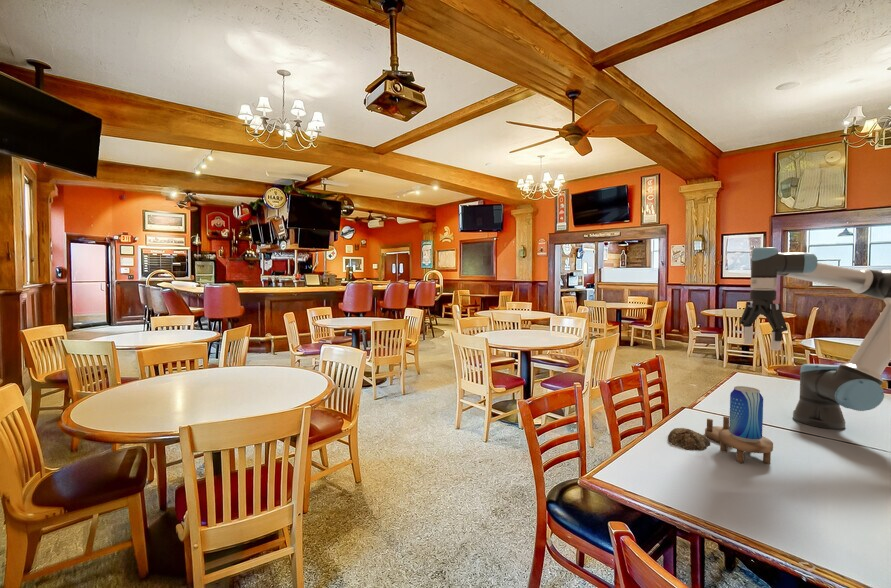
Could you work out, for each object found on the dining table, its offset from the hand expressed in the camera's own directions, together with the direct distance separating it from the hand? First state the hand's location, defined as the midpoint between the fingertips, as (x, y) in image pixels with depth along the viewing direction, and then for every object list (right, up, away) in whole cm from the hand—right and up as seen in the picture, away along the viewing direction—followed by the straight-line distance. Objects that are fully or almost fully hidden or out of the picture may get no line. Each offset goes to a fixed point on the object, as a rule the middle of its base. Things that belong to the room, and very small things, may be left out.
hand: (761, 346), depth 147 cm
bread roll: (-33, -33, -9) cm, 47 cm away
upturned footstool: (-16, -32, -6) cm, 36 cm away
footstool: (-21, -33, -19) cm, 43 cm away
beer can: (-21, -27, -20) cm, 39 cm away
